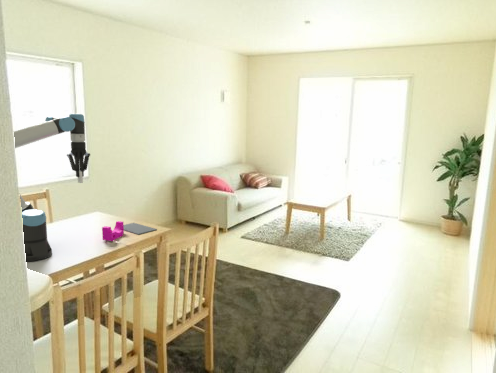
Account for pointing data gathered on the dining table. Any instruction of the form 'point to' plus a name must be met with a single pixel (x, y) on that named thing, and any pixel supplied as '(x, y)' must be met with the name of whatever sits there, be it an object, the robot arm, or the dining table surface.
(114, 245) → the dining table surface
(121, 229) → the magenta bearing cap
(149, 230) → the pad
